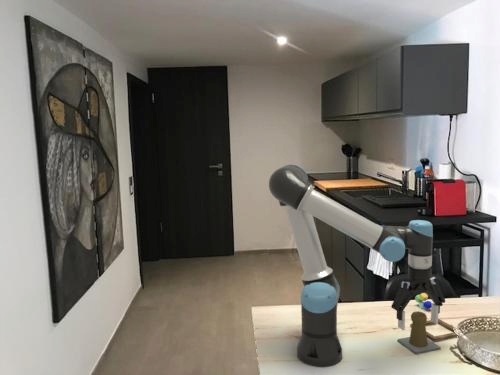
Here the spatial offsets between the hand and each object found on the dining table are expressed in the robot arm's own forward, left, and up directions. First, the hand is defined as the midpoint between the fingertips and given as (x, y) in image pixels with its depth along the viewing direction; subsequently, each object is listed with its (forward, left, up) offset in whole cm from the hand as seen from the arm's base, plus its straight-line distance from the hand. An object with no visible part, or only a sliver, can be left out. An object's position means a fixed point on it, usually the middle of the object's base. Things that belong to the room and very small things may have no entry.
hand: (418, 325), depth 152 cm
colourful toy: (+23, +26, -7) cm, 35 cm away
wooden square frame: (+13, +6, -7) cm, 16 cm away
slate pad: (0, 0, -7) cm, 7 cm away
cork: (0, 0, -7) cm, 7 cm away
